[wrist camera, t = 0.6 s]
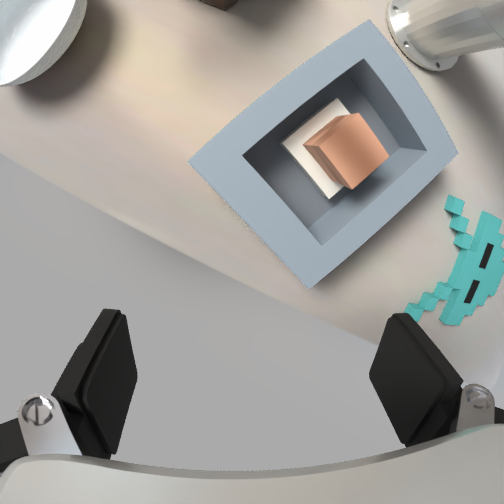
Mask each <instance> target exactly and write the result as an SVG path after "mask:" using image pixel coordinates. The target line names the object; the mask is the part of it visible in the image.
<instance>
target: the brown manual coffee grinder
mask: <svg viewBox="0 0 504 504" xmlns="http://www.w3.org/2000/svg"><path fill="white" fill-rule="evenodd" d="M200 1H202V2H204V3H206V4H209V5H212V6H214V7H217V8H220V9H222V10H225V11H226V10H227V9H229V8H230V7H231V6H233V5H234V4H235V3H236V2H237V1H238V0H200Z"/></svg>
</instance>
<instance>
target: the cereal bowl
mask: <svg viewBox="0 0 504 504" xmlns="http://www.w3.org/2000/svg"><path fill="white" fill-rule="evenodd" d="M86 7H87V0H0V86H13V85H18V84H22V83H26V82H27V81H30V80H32V79H34V78H36V77H37V76H39V75H41V74H42V73H43V72H45V71H46V70H47V69H48V68H50V67H51V66H52V65H53V64H54V63H55V62H56V61H57V60H58V59H59V58H60V57H61V56H62V54H64V52H65V51H66V50H67V49H68V47H69V46H70V44H71V43H72V41H73V40H74V38H75V37H76V34H77V33H78V31H79V28H80V26H81V24H82V22H83V19H84V16H85V13H86Z"/></svg>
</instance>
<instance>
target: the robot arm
mask: <svg viewBox="0 0 504 504" xmlns="http://www.w3.org/2000/svg"><path fill="white" fill-rule="evenodd" d="M386 14H387V23H388V27H389V30H390V32H391V35H392V36H393V38H394V40H395V42H396V43H397V45H398V46H399V48H400V49H401V50H402V51H403V52H404V54H405V55H406V56H407V57H408V58H410V59H411V60H412V61H413V62H414V63H416V64H418V65H419V66H421V67H423V68H425V69H427V70H432V71H443V70H447V69H450V68H451V67H453V66H454V65H455V63H456V62H457V60H458V58H459V56H460V55H465V54H470V53H475V52H480V51H486V50H491V49H497V48H504V0H391V1H390V2H389V4H388V7H387V12H386ZM369 377H370V380H371V382H372V384H373V386H374V388H375V390H376V392H377V394H378V396H379V398H380V400H381V402H382V404H383V407H384V409H385V411H386V413H387V415H388V417H389V419H390V421H391V423H392V425H393V427H394V429H395V432H396V434H397V436H398V438H399V440H400V442H401V443H402V444H405V446H406V448H404V449H400V450H396V451H392V452H388V453H384V454H380V455H375V456H371V457H367V458H361V459H356V460H351V461H345V462H340V463H333V464H327V465H320V466H312V467H304V468H294V469H281V470H265V471H203V470H186V469H174V468H164V467H155V466H146V465H139V464H132V463H126V462H119V461H114V460H110V457H111V454H116V452H117V449H118V445H119V441H120V438H121V434H122V430H123V427H124V423H125V419H126V416H127V412H128V409H129V405H130V402H131V399H132V395H133V392H134V389H135V385H136V382H137V369H136V365H135V360H134V355H133V350H132V346H131V341H130V335H129V330H128V325H127V319H126V316H125V315H124V314H121V311H120V310H114V309H103V310H102V312H101V314H100V315H99V317H98V318H97V320H96V322H95V323H94V325H93V326H92V328H91V330H90V331H89V333H88V335H87V337H86V338H85V340H84V342H83V343H81V344H80V345H79V346H78V347H77V349H76V350H75V352H74V354H73V356H72V357H71V359H70V361H69V363H68V365H67V366H66V368H65V370H64V372H63V373H62V375H61V377H60V379H59V381H58V382H57V385H56V386H55V388H54V390H53V392H52V394H51V395H49V394H46V393H36V394H32V395H30V396H28V397H26V398H25V399H24V400H23V401H22V402H21V404H20V405H19V408H18V411H17V412H18V418H16V419H13V420H10V421H8V422H5V423H3V424H0V504H504V410H503V409H500V408H497V407H495V402H494V397H493V395H492V394H491V393H490V391H489V390H488V389H486V388H485V387H483V386H481V385H478V384H469V385H467V386H465V387H464V388H463V389H462V388H461V384H462V383H463V380H462V378H461V377H460V376H459V374H458V373H457V372H456V370H455V369H454V368H453V367H452V365H451V364H450V363H449V361H448V360H447V359H446V358H445V356H444V355H443V354H442V353H441V351H440V350H439V349H438V348H437V346H436V345H435V344H434V343H433V342H432V340H431V339H430V338H429V337H428V336H427V334H426V333H425V332H424V331H423V330H422V328H421V327H420V326H419V325H418V324H417V322H416V321H415V320H414V319H413V318H412V317H411V315H410V314H408V313H395V314H393V315H392V316H391V318H389V319H388V321H387V324H386V327H385V330H384V333H383V336H382V339H381V341H380V344H379V347H378V350H377V353H376V356H375V358H374V361H373V364H372V366H371V369H370V372H369Z"/></svg>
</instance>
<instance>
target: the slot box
mask: <svg viewBox="0 0 504 504" xmlns="http://www.w3.org/2000/svg"><path fill="white" fill-rule="evenodd" d="M354 113H359V114H360V115H361V116H362V118H363V119H364V120H365V122H366V123H367V124H368V126H369V127H370V129H371V130H372V131H373V133H374V134H375V136H376V137H377V138H378V140H379V141H380V143H381V144H382V146H383V147H384V149H385V150H386V152H387V153H388V155H389V156H390V157H388V158H387V159H386V160H385V161H384V162H383V163H382V164H381V165H379V166H378V167H377V168H376V169H375V170H374V171H373V172H371V173H370V174H369V175H368V176H367V177H366V178H365V179H364V180H362V181H361V182H360V183H359V184H358V185H357V186H356V187H354V188H353V189H350V188H348V187H345V186H343V185H341V184H339V183H336V182H334V181H332V180H331V179H330V178H329V177H328V176H327V174H326V173H325V172H324V170H323V169H322V168H321V167H320V165H319V164H318V163H317V162H316V161H315V159H314V158H313V157H312V156H311V154H310V153H309V152H308V151H307V150H306V148H305V147H304V146H303V145H302V144H304V143H305V142H306V141H307V140H308V139H310V138H311V137H312V136H313V135H314V134H316V133H317V132H318V131H319V130H320V129H322V128H323V127H324V126H325V125H326V124H328V123H329V122H330V121H331V120H333V119H334V118H335V117H336V116H342V115H348V114H354ZM457 154H458V151H457V149H456V147H455V145H454V143H453V141H452V139H451V138H450V136H449V134H448V132H447V130H446V128H445V126H444V125H443V123H442V121H441V119H440V117H439V116H438V114H437V112H436V110H435V109H434V107H433V105H432V104H431V102H430V101H429V99H428V97H427V96H426V94H425V93H424V91H423V89H422V88H421V86H420V85H419V83H418V82H417V80H416V79H415V77H414V76H413V74H412V73H411V72H410V70H409V69H408V67H407V66H406V64H405V63H404V62H403V60H402V59H401V58H400V56H399V55H398V54H397V52H396V51H395V50H394V48H393V47H392V46H391V45H390V43H389V42H388V41H387V39H386V38H385V37H384V36H383V35H382V33H381V32H380V31H379V30H378V29H377V27H376V26H375V25H374V24H373V23H372V22H371V20H370V19H369V20H368V21H366V22H364V23H363V24H361V25H360V26H358V27H356V28H355V29H353V30H352V31H350V32H349V33H347V34H345V35H344V36H342V37H341V38H339V39H338V40H336V41H335V42H333V43H332V44H330V45H329V46H327V47H326V48H325V49H323V50H322V51H320V52H319V53H317V54H316V55H315V56H313V57H312V58H310V59H309V60H308V61H306V62H305V63H303V64H302V65H301V66H299V67H298V68H297V69H295V70H294V71H293V72H291V73H290V74H289V75H287V76H286V77H285V78H283V79H282V80H281V81H280V82H278V83H277V84H276V85H274V86H273V87H272V88H271V89H269V90H268V91H267V92H266V93H264V94H263V95H262V96H261V97H259V98H258V99H257V100H256V101H255V102H253V103H252V104H251V105H250V106H249V107H247V108H246V109H245V110H244V111H243V112H241V113H240V114H239V115H238V116H237V117H236V118H234V119H233V120H232V121H231V122H230V123H229V124H228V125H226V126H225V127H224V128H223V129H222V130H221V131H220V132H219V133H217V134H216V135H215V136H214V137H213V138H212V139H211V140H210V141H209V142H208V143H207V144H205V145H204V146H203V147H202V148H201V149H200V150H199V151H198V152H197V153H196V154H195V155H194V156H193V157H192V158H191V159H190V160H189V161H187V162H188V163H189V164H190V165H191V166H192V167H193V168H194V169H195V170H196V172H197V173H198V174H199V175H200V176H201V177H202V178H203V179H204V180H205V181H206V182H207V183H208V184H209V185H210V186H211V187H212V188H213V189H214V190H215V191H216V192H217V193H218V194H219V195H220V196H221V197H222V198H223V199H224V200H225V202H226V203H227V204H228V205H229V206H230V207H231V208H232V209H233V210H234V211H235V212H236V213H237V214H238V215H239V216H240V217H241V218H242V219H243V220H244V221H245V222H246V223H247V225H248V226H249V227H250V228H251V229H252V230H253V231H254V232H255V233H256V234H257V235H258V236H259V237H260V238H261V239H262V240H263V241H264V242H265V243H266V244H267V246H268V247H269V248H270V249H271V250H272V251H273V252H274V253H275V254H276V255H277V256H278V257H279V258H280V259H281V260H282V261H283V263H284V264H285V265H286V266H287V267H288V268H289V269H290V270H291V271H292V272H293V273H294V274H295V275H296V276H297V277H298V278H299V280H300V281H301V282H302V283H303V284H304V285H305V286H306V287H307V288H308V289H310V288H312V287H313V286H314V285H315V284H316V283H318V282H319V281H320V280H321V279H322V278H324V277H325V276H326V275H327V274H328V273H330V272H331V271H332V270H333V269H334V268H336V267H337V266H338V265H339V264H340V263H341V262H343V261H344V260H345V259H346V258H347V257H348V256H350V255H351V254H352V253H353V252H354V251H355V250H357V249H358V248H359V247H360V246H361V245H362V244H363V243H365V242H366V241H367V240H368V239H369V238H370V237H371V236H372V235H374V234H375V233H376V232H377V231H378V230H379V229H380V228H381V227H382V226H384V225H385V224H386V223H387V222H388V221H389V220H390V219H391V218H392V217H393V216H395V215H396V214H397V213H398V212H399V211H400V210H401V209H402V208H403V207H404V206H405V205H406V204H407V203H408V202H410V201H411V200H412V199H413V198H414V197H415V196H416V195H417V194H418V193H419V192H420V191H421V190H422V189H423V188H424V187H425V186H426V185H427V184H428V183H429V182H430V181H431V180H432V179H433V178H434V177H435V176H436V175H437V174H438V173H440V172H441V171H442V170H443V169H444V168H445V167H446V166H447V164H448V163H449V162H450V161H451V160H452V159H453V158H454V157H455V156H456V155H457Z"/></svg>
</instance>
